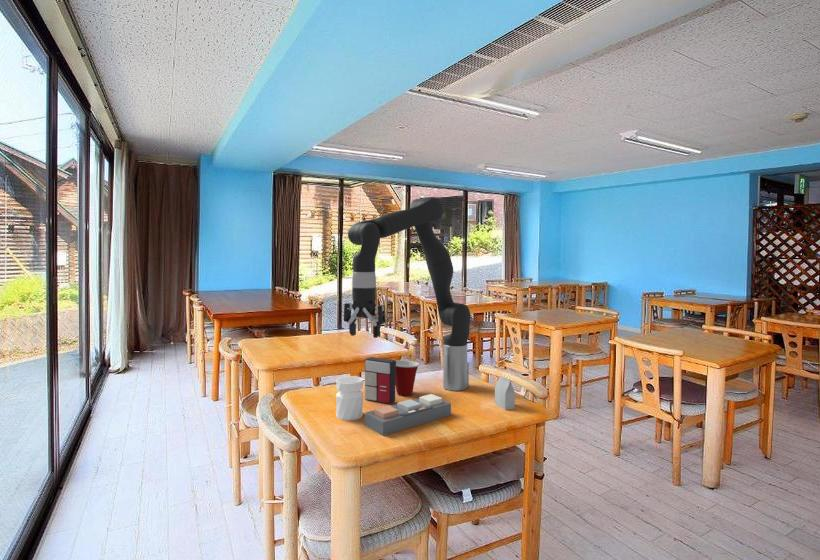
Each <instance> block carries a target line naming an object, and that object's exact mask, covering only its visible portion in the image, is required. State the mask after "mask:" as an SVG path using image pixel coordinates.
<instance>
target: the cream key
mask: <svg viewBox="0 0 820 560" xmlns="http://www.w3.org/2000/svg"><path fill="white" fill-rule="evenodd" d="M418 399H419V402H420V403H423V404H425V405H427V406H433V405H437V404H440V403H442V400H443V397H441V396H438V395H437V394H436V395H435V394H434V393H430V394H425V395H422V396H419V398H418Z"/></svg>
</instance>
